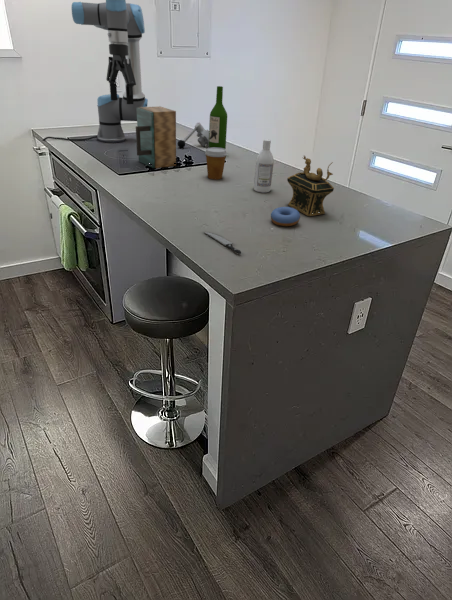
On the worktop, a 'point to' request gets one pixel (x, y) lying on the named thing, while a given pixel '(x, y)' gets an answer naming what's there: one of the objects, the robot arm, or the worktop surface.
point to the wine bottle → (218, 122)
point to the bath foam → (264, 168)
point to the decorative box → (309, 190)
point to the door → (145, 137)
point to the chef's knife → (223, 242)
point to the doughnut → (285, 216)
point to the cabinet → (164, 136)
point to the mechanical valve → (200, 133)
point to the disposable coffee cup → (215, 162)
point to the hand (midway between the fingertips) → (121, 102)
